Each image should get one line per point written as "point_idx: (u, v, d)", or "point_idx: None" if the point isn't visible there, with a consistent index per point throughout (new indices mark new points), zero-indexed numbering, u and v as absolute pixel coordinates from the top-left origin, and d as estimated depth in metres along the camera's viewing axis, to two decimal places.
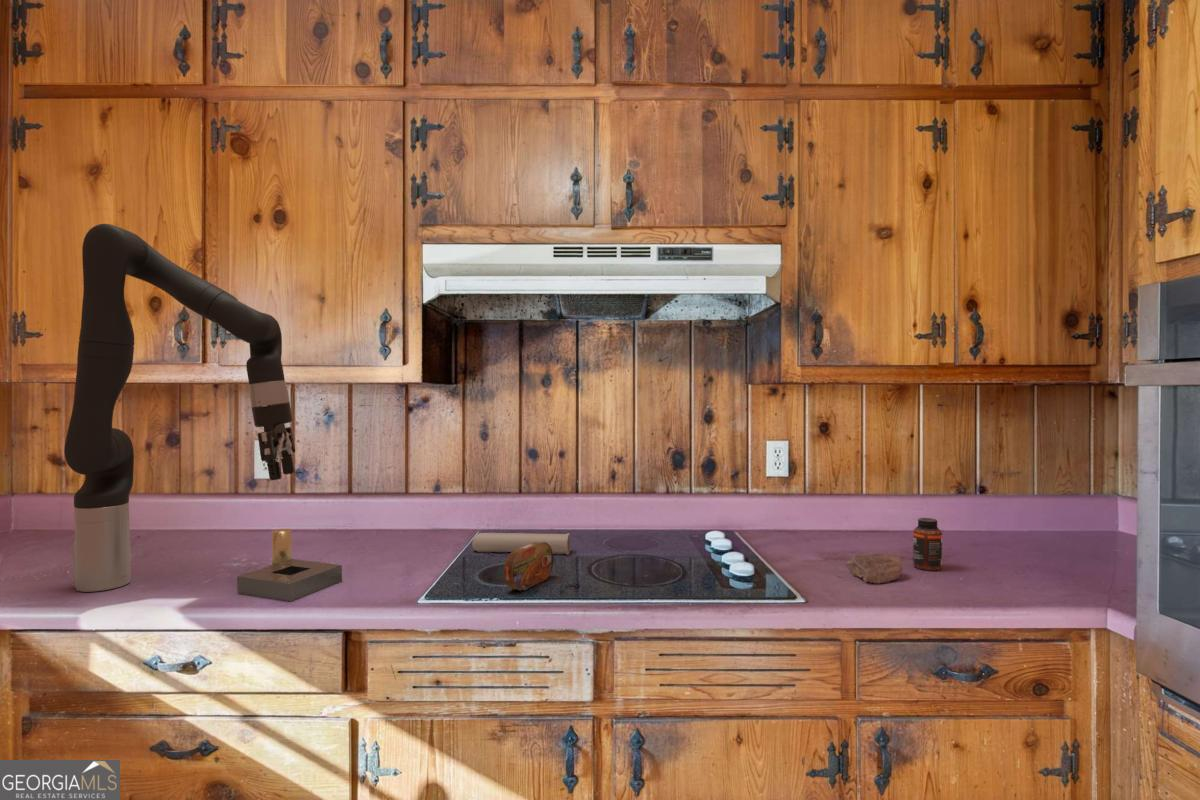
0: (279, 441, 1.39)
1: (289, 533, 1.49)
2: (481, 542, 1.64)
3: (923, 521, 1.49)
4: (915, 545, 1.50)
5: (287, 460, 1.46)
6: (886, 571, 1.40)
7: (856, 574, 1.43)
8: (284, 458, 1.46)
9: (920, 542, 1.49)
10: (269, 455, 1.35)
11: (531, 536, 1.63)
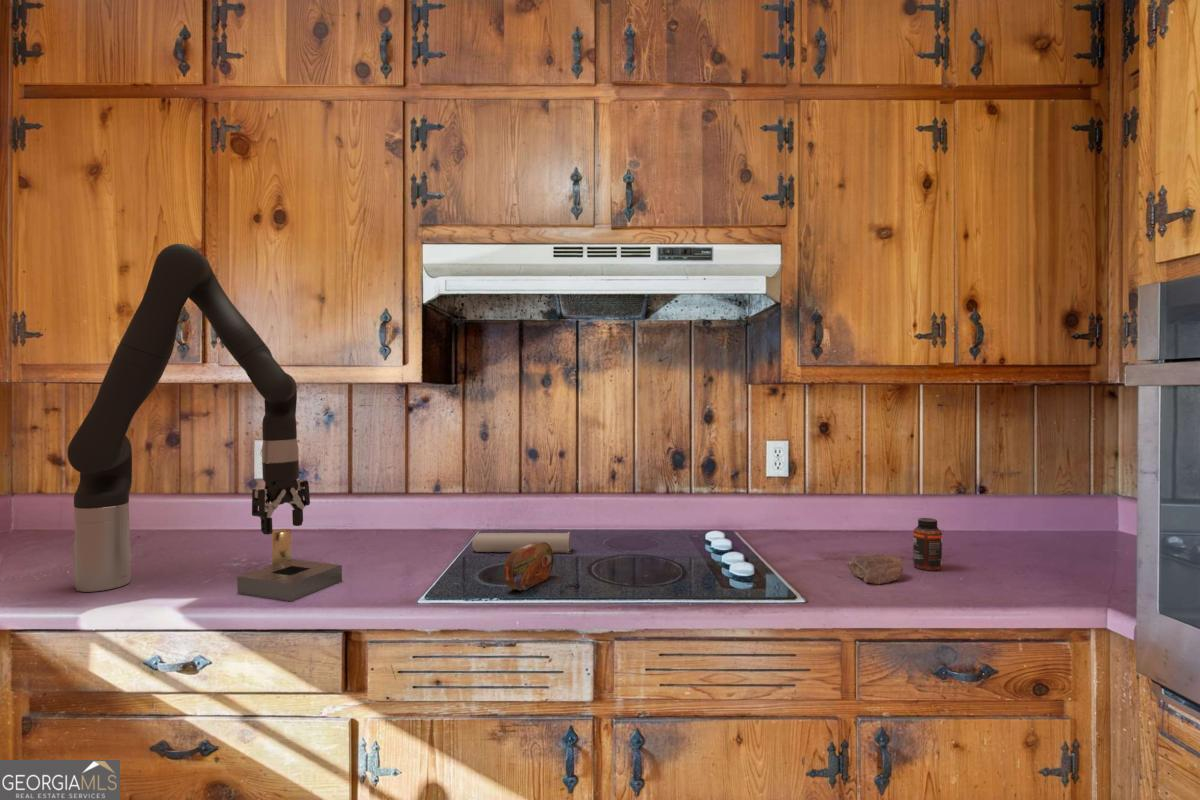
0: (276, 498, 1.45)
1: (289, 533, 1.49)
2: (481, 542, 1.63)
3: (923, 521, 1.49)
4: (915, 545, 1.50)
5: (296, 513, 1.52)
6: (886, 572, 1.40)
7: (857, 575, 1.42)
8: (294, 510, 1.53)
9: (920, 542, 1.49)
10: (258, 512, 1.42)
11: (532, 535, 1.64)
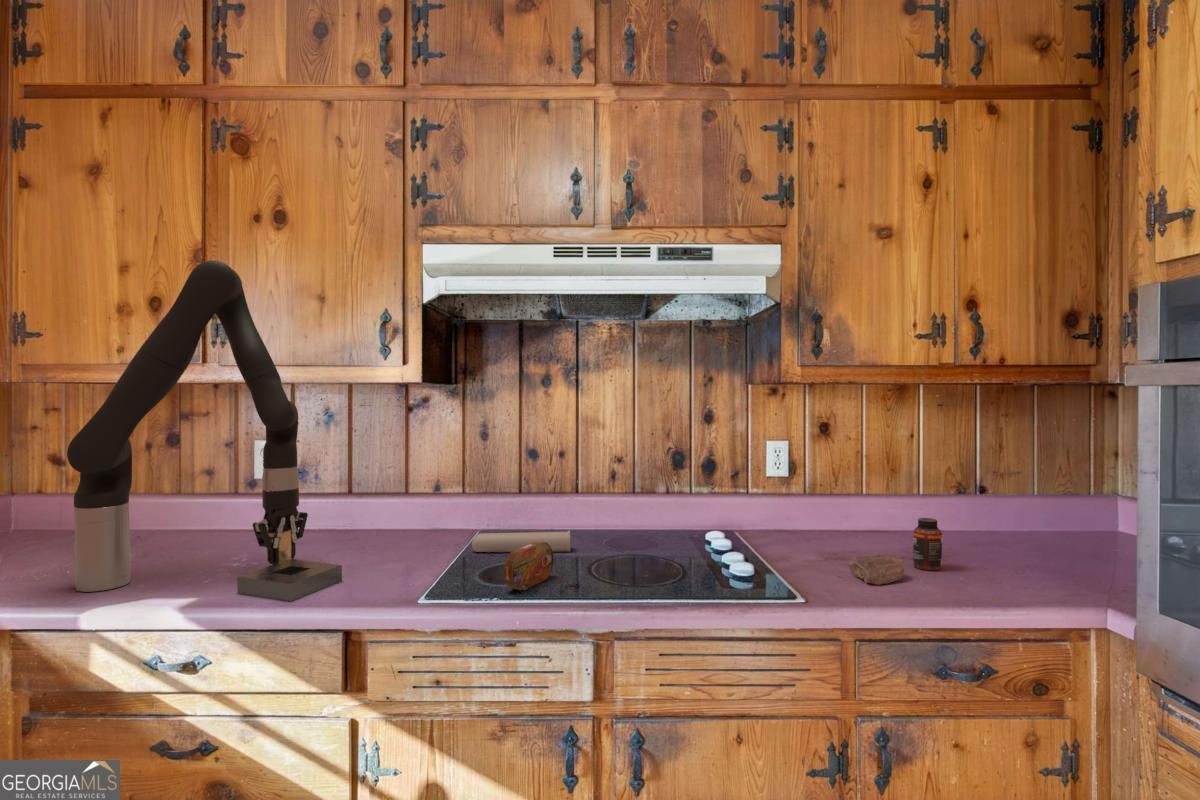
0: (277, 528, 1.46)
1: (289, 533, 1.49)
2: (482, 543, 1.63)
3: (923, 521, 1.49)
4: (915, 545, 1.50)
5: None
6: (887, 572, 1.39)
7: (857, 575, 1.42)
8: None
9: (920, 542, 1.49)
10: None
11: (533, 535, 1.65)
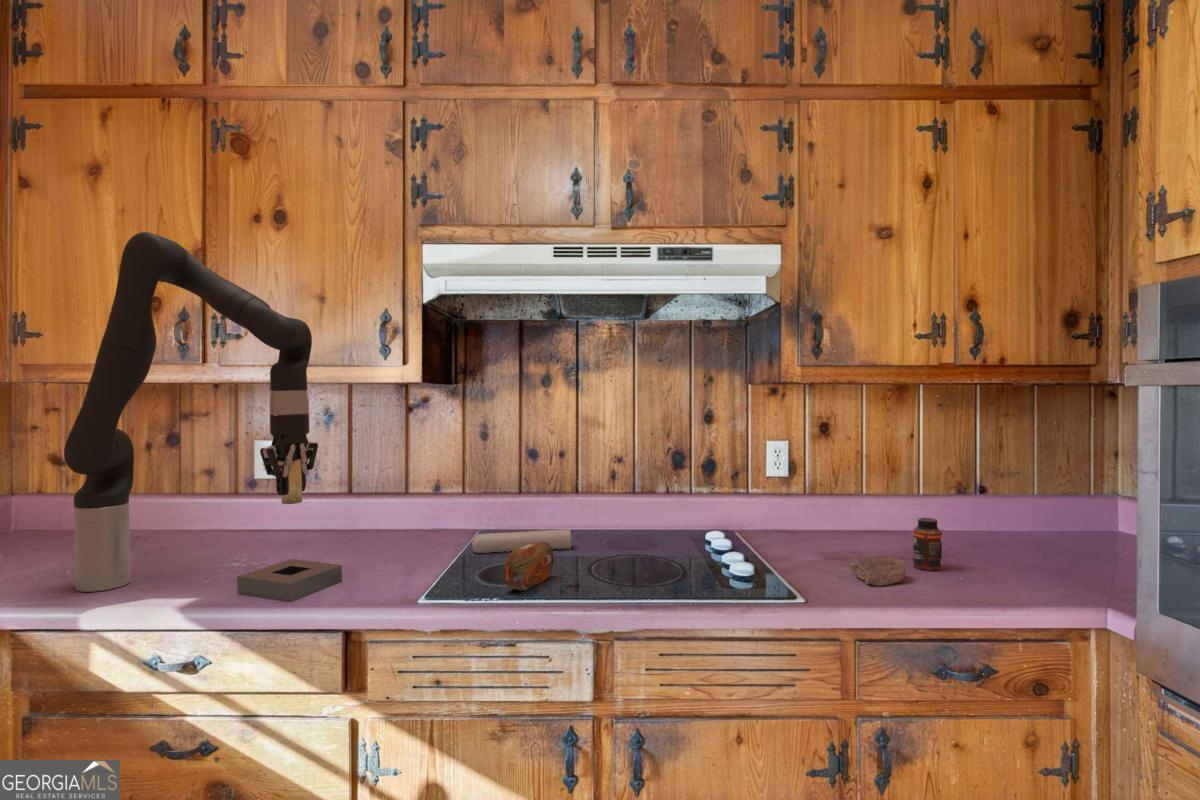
0: (287, 455, 1.35)
1: (299, 462, 1.37)
2: (483, 543, 1.62)
3: (923, 521, 1.49)
4: (915, 545, 1.50)
5: None
6: (888, 574, 1.38)
7: (858, 576, 1.41)
8: None
9: (920, 542, 1.49)
10: None
11: (534, 533, 1.66)
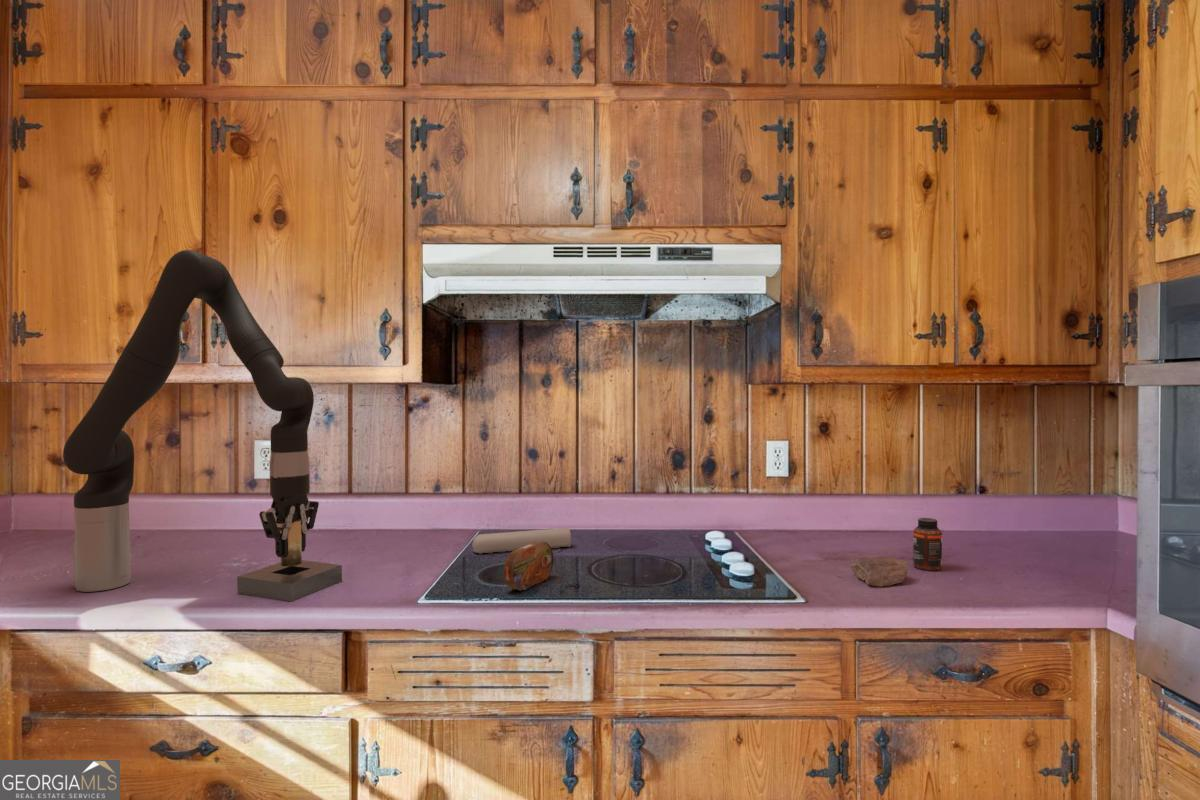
0: (286, 517, 1.33)
1: (299, 523, 1.36)
2: (485, 543, 1.62)
3: (923, 521, 1.49)
4: (915, 545, 1.50)
5: None
6: (889, 574, 1.38)
7: (859, 577, 1.41)
8: None
9: (920, 542, 1.49)
10: None
11: (534, 533, 1.67)
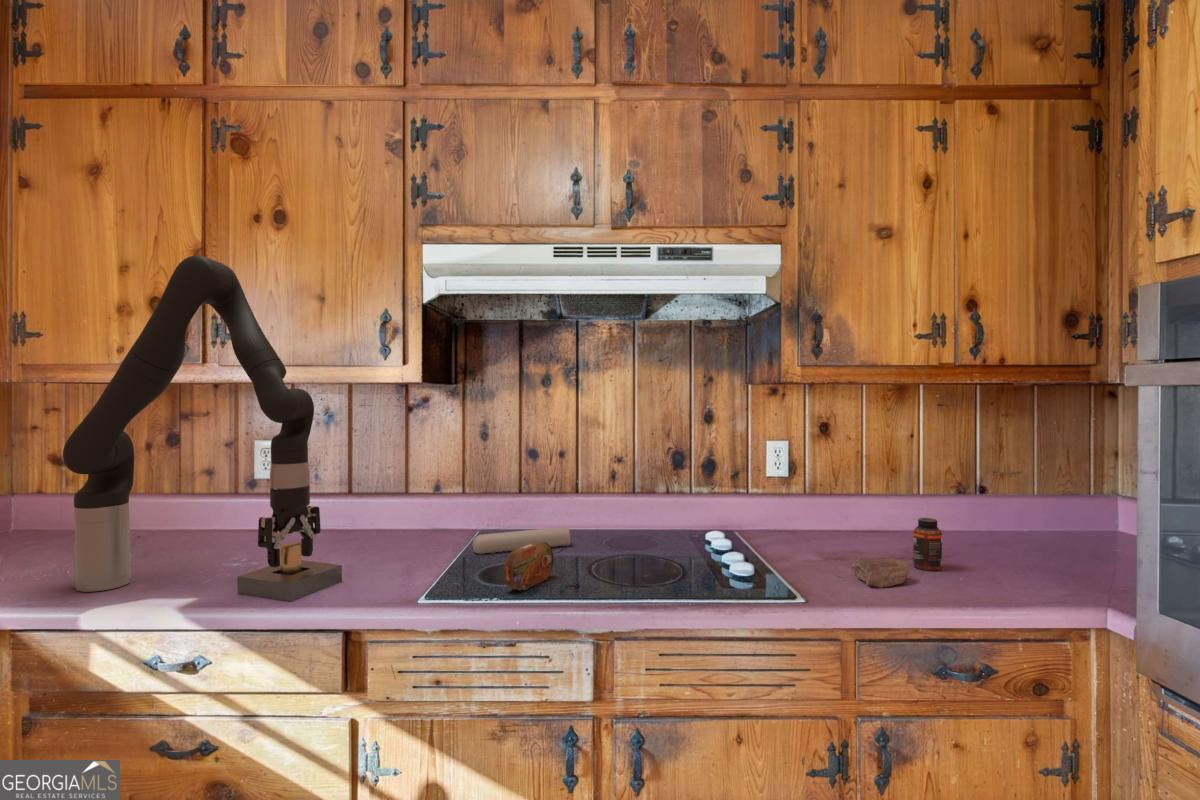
0: (284, 527, 1.33)
1: (299, 547, 1.36)
2: (486, 543, 1.62)
3: (923, 521, 1.49)
4: (915, 545, 1.50)
5: (306, 542, 1.40)
6: (890, 575, 1.37)
7: (860, 577, 1.40)
8: (304, 539, 1.40)
9: (920, 542, 1.49)
10: (265, 543, 1.30)
11: (534, 532, 1.68)
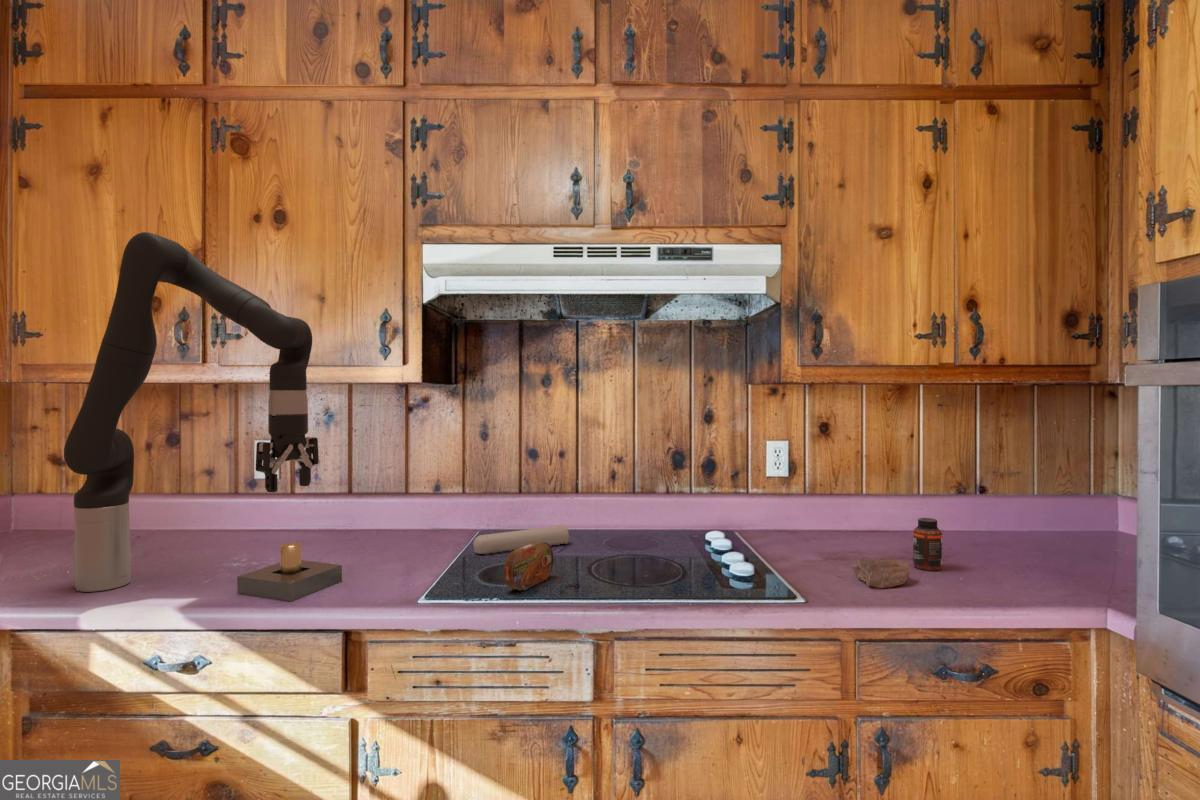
0: (282, 453, 1.33)
1: (299, 547, 1.36)
2: (487, 544, 1.62)
3: (923, 521, 1.49)
4: (915, 545, 1.50)
5: (304, 472, 1.40)
6: (890, 576, 1.37)
7: (861, 578, 1.40)
8: (302, 469, 1.41)
9: (920, 542, 1.49)
10: (262, 467, 1.30)
11: (533, 531, 1.68)
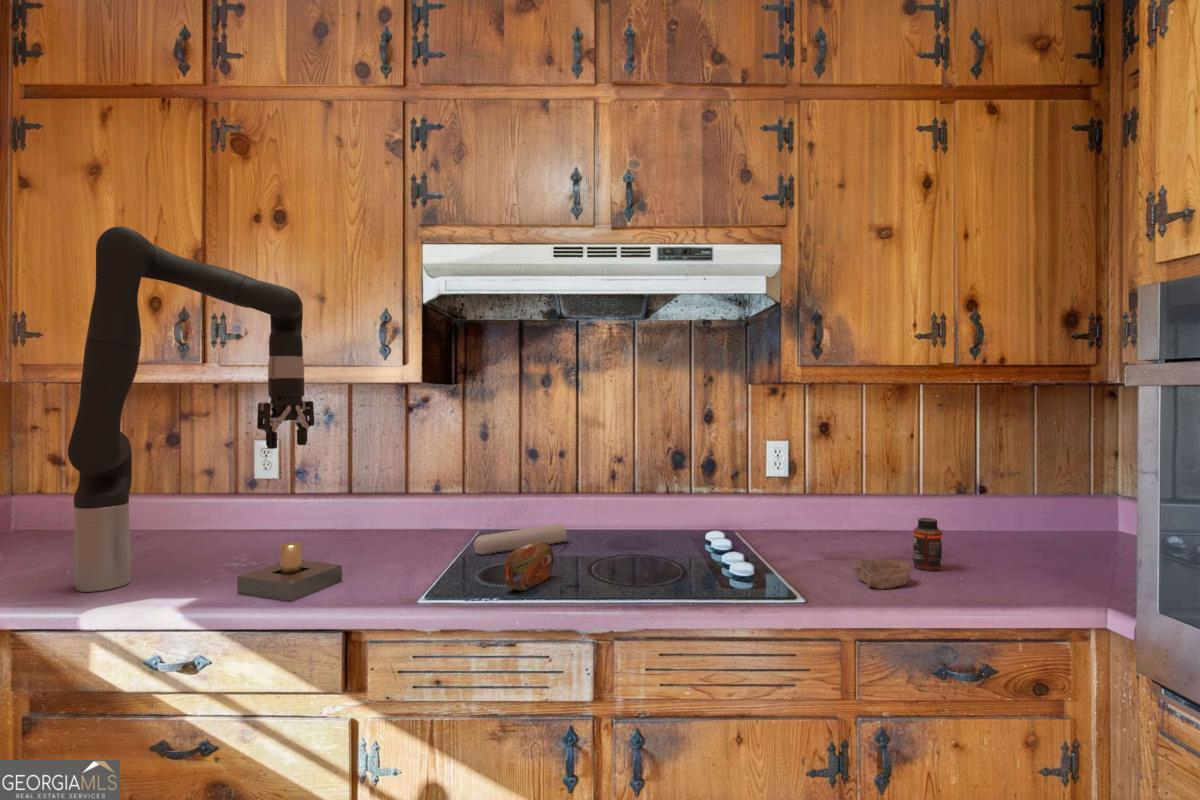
0: (281, 413, 1.47)
1: (299, 547, 1.36)
2: (489, 544, 1.62)
3: (923, 521, 1.49)
4: (915, 545, 1.50)
5: (301, 432, 1.54)
6: (891, 577, 1.36)
7: (861, 579, 1.39)
8: (299, 429, 1.54)
9: (920, 542, 1.49)
10: (263, 425, 1.43)
11: (532, 531, 1.69)
